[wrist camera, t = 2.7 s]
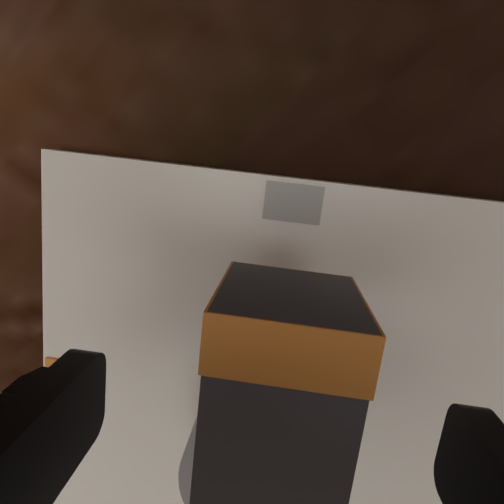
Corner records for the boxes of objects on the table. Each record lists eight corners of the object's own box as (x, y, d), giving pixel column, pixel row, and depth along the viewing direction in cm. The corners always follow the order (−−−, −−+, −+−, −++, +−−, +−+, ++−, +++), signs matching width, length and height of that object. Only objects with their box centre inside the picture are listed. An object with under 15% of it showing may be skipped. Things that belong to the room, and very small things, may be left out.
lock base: (548, 206, 17) (680, 229, 12) (438, 596, 22) (491, 749, 17) (60, 149, 19) (-43, 144, 13) (60, 530, 24) (-14, 651, 18)
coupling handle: (295, 533, 15) (299, 762, 9) (211, 519, 15) (166, 735, 9) (341, 257, 12) (386, 337, 7) (241, 244, 12) (202, 312, 7)
